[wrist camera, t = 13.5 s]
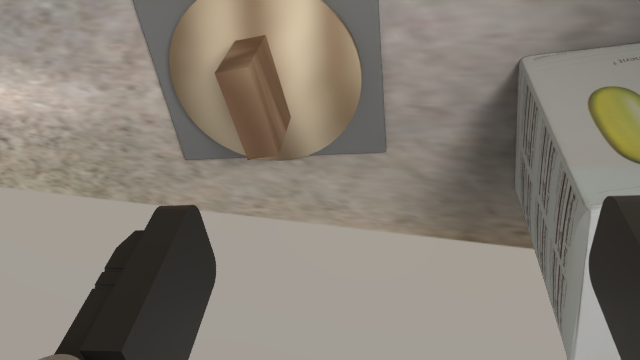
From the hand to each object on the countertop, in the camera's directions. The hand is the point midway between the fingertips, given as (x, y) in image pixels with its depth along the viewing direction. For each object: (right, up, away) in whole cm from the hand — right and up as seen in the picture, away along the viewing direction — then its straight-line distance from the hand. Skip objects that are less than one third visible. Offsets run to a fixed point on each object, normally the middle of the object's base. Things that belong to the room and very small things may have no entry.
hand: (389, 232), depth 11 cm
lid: (-6, +9, +31) cm, 33 cm away
